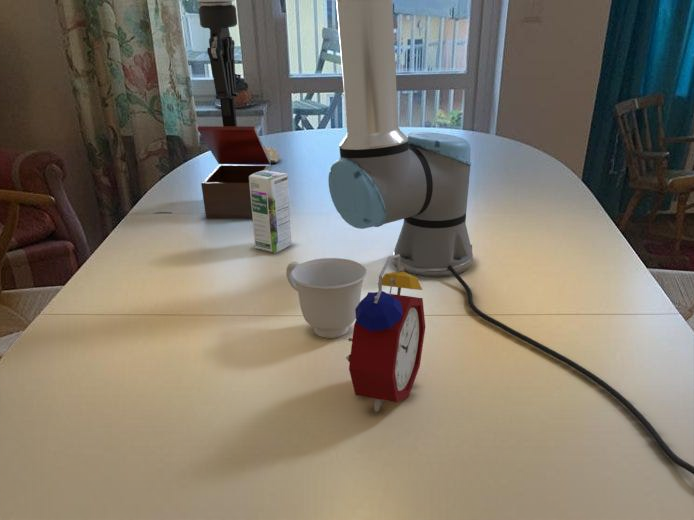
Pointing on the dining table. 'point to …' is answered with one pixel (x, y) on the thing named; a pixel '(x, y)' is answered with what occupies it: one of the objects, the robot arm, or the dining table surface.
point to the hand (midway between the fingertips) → (230, 130)
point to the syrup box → (270, 210)
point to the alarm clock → (387, 339)
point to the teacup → (328, 293)
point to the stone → (272, 154)
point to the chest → (229, 191)
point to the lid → (234, 144)
